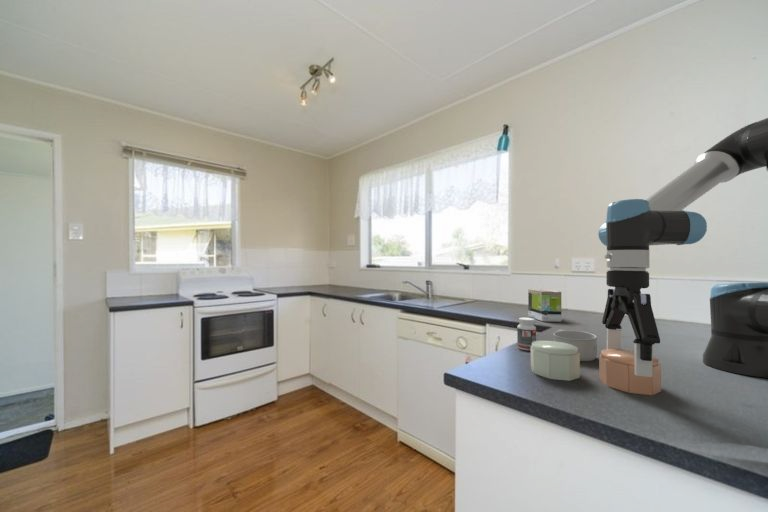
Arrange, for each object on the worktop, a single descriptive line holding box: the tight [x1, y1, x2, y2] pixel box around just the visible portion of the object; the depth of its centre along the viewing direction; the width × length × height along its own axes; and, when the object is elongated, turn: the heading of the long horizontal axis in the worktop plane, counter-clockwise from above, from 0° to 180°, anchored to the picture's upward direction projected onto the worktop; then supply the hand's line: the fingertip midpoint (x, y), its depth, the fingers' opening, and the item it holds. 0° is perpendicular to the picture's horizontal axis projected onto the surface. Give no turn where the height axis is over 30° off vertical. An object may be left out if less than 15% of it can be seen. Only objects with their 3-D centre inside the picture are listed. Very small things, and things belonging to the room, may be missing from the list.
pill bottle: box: [516, 317, 537, 352], centre depth 103 cm, size 6×6×10 cm
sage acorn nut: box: [530, 340, 581, 382], centre depth 77 cm, size 10×10×8 cm
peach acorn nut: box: [598, 348, 662, 396], centre depth 69 cm, size 10×10×8 cm
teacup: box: [552, 329, 598, 362], centre depth 91 cm, size 14×11×8 cm
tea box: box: [527, 288, 563, 323], centre depth 158 cm, size 15×10×15 cm
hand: (627, 365), depth 69 cm, fingers open, 13 cm apart
